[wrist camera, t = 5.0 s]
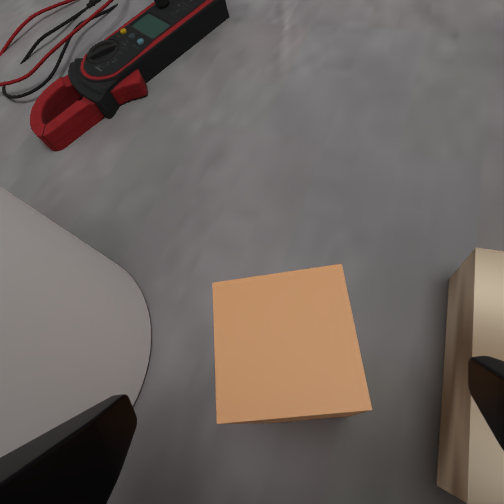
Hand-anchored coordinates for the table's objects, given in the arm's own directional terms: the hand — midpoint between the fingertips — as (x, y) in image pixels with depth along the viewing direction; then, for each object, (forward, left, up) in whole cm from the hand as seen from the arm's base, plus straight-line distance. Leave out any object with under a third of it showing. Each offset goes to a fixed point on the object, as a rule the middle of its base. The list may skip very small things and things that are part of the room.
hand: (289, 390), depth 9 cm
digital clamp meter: (+13, +38, -11) cm, 41 cm away
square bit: (+1, +1, -10) cm, 10 cm away
